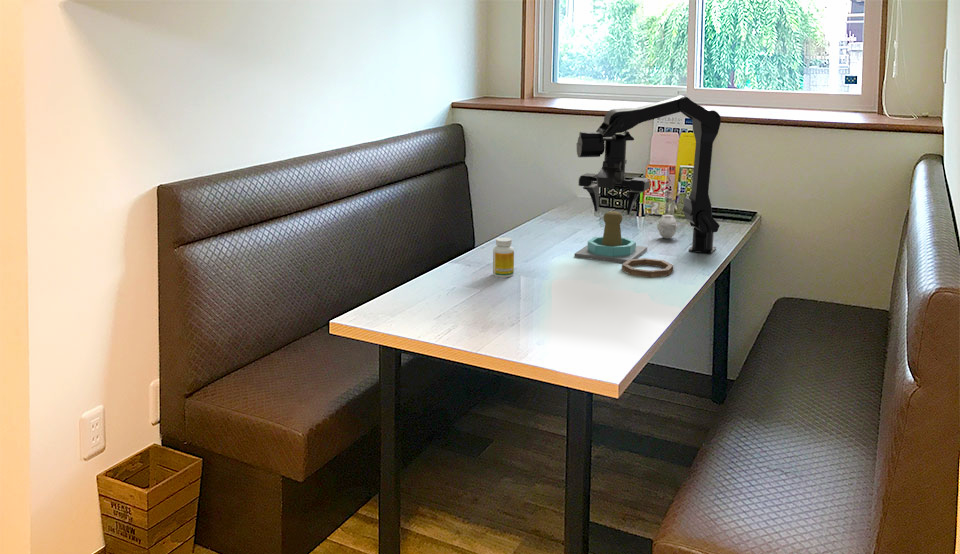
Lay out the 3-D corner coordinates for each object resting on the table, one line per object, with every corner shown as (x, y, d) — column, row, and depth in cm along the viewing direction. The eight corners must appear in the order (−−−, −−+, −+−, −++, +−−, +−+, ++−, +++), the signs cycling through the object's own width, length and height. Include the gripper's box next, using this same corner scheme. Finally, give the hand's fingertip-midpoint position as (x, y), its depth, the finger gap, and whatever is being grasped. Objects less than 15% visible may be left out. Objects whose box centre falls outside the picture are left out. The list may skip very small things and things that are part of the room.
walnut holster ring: (631, 261, 244) (632, 256, 244) (676, 267, 239) (677, 261, 238) (617, 273, 234) (617, 267, 233) (664, 279, 228) (664, 273, 228)
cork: (621, 253, 249) (623, 214, 246) (599, 252, 250) (601, 213, 247) (623, 248, 254) (624, 210, 251) (601, 247, 256) (603, 209, 252)
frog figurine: (675, 235, 273) (677, 213, 271) (678, 241, 266) (679, 218, 265) (655, 235, 274) (656, 212, 272) (657, 240, 267) (658, 217, 265)
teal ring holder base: (593, 244, 263) (594, 232, 262) (647, 250, 256) (647, 238, 255) (574, 257, 249) (574, 244, 248) (630, 263, 242) (630, 251, 241)
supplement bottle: (489, 273, 233) (489, 237, 230) (507, 271, 235) (508, 235, 233) (498, 279, 229) (499, 242, 226) (517, 276, 231) (517, 240, 228)
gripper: (572, 158, 242) (570, 215, 246) (639, 163, 234) (636, 222, 238) (586, 152, 251) (584, 207, 256) (651, 157, 243) (648, 214, 248)
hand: (612, 212), depth 249 cm, fingers open, 9 cm apart
